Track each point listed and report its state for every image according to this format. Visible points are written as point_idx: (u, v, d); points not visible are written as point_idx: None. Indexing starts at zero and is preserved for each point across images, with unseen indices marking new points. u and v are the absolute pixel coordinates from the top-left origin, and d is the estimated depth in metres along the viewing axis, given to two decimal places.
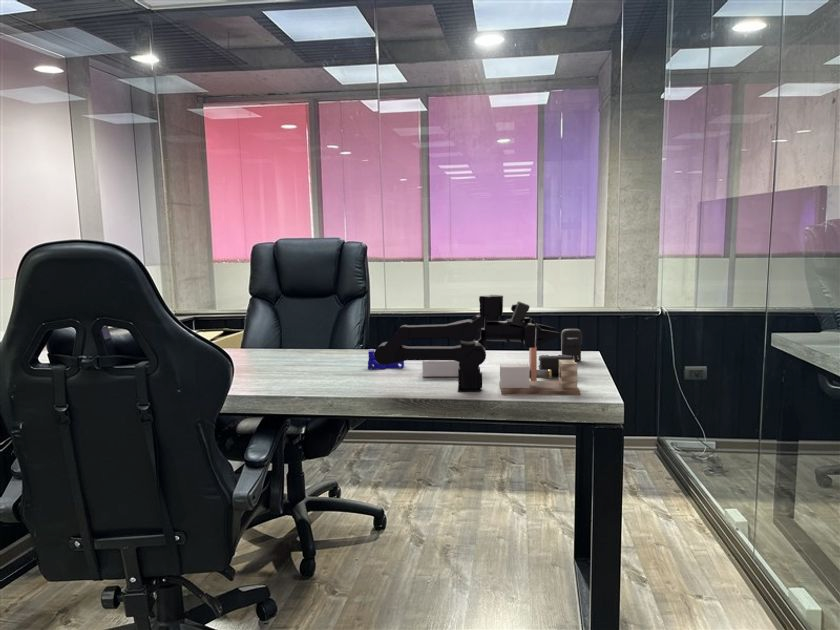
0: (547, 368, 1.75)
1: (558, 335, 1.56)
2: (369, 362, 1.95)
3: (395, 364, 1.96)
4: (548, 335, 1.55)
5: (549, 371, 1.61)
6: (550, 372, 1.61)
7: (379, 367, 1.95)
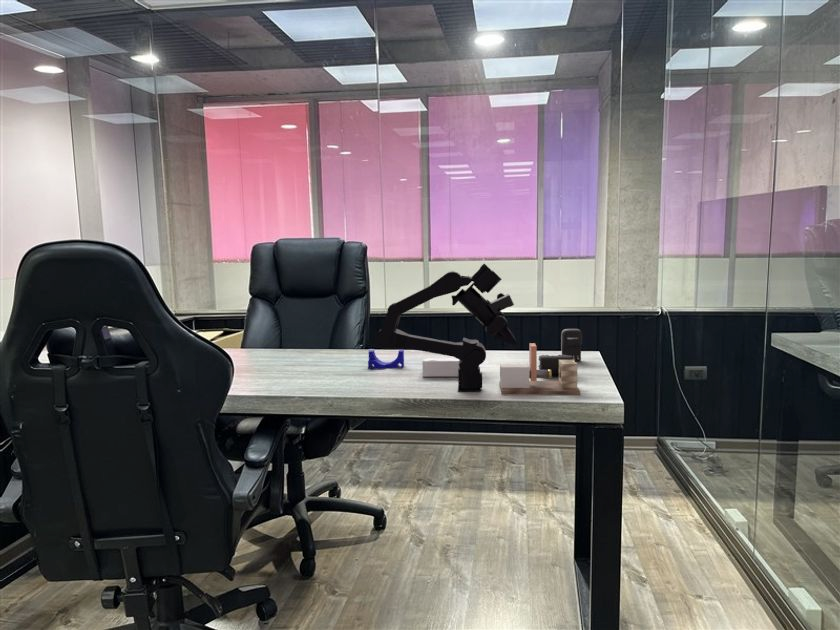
0: (547, 368, 1.75)
1: (515, 343, 1.58)
2: (369, 362, 1.96)
3: (395, 364, 1.97)
4: (508, 337, 1.58)
5: (549, 371, 1.61)
6: (550, 372, 1.61)
7: (379, 367, 1.96)
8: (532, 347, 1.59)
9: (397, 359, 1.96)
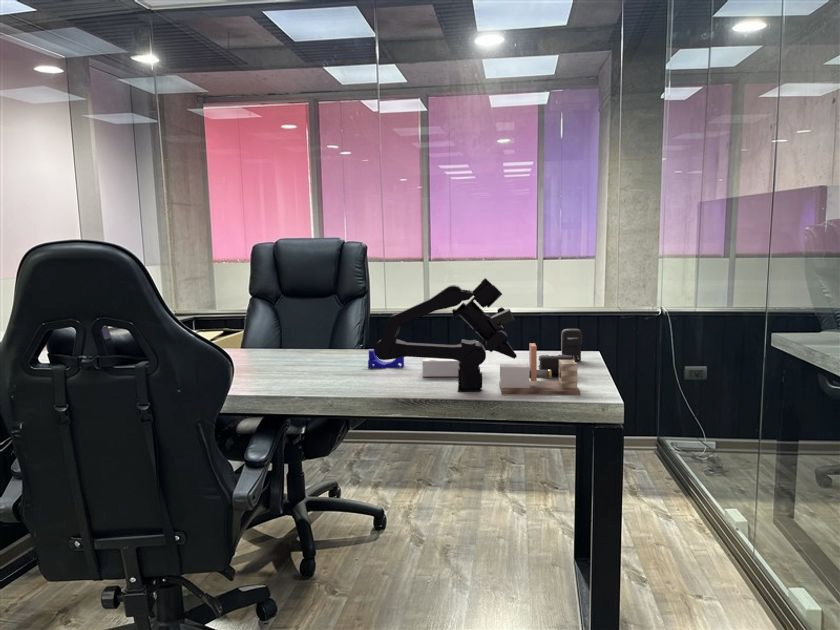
0: (547, 368, 1.75)
1: (514, 356, 1.62)
2: (369, 362, 1.96)
3: (395, 363, 1.97)
4: (507, 350, 1.61)
5: (549, 371, 1.61)
6: (550, 372, 1.61)
7: (379, 366, 1.96)
8: (532, 347, 1.59)
9: (397, 359, 1.97)
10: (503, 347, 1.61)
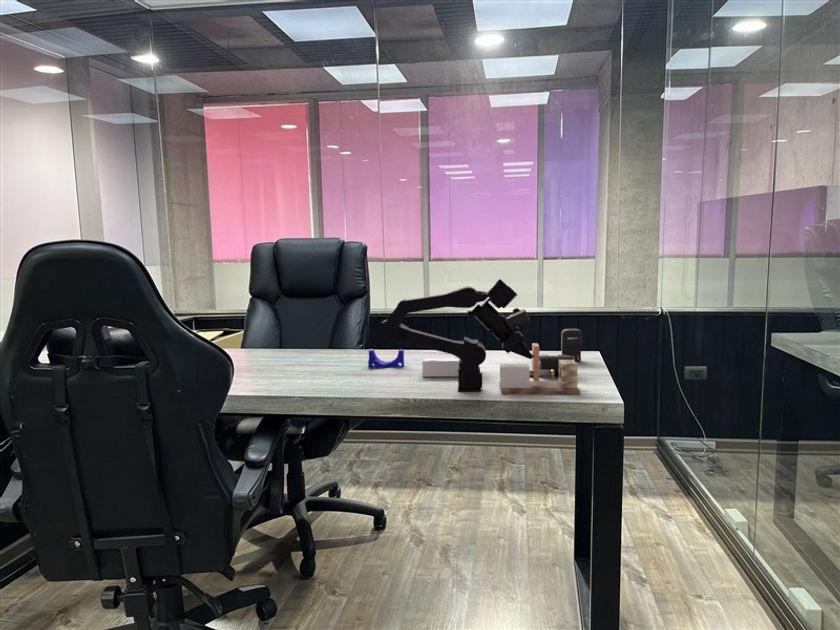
0: (547, 368, 1.75)
1: (530, 357, 1.61)
2: (369, 361, 1.97)
3: (395, 363, 1.97)
4: (523, 350, 1.61)
5: (552, 371, 1.61)
6: (553, 372, 1.61)
7: (379, 366, 1.97)
8: (535, 347, 1.59)
9: (397, 358, 1.97)
10: (519, 348, 1.61)
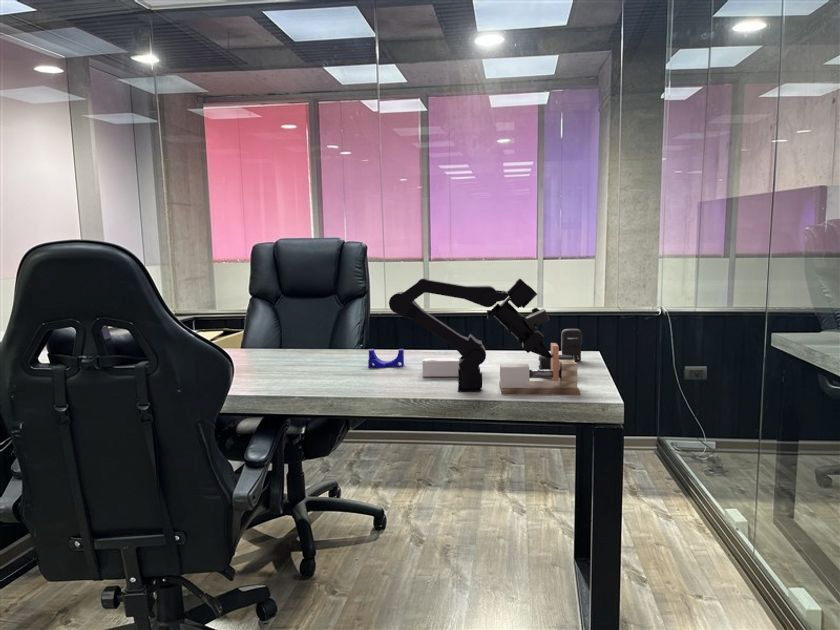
0: (547, 368, 1.75)
1: (549, 357, 1.61)
2: (369, 361, 1.97)
3: (395, 363, 1.98)
4: (543, 350, 1.60)
5: None
6: None
7: (379, 366, 1.97)
8: (554, 347, 1.59)
9: (397, 358, 1.98)
10: (539, 347, 1.60)
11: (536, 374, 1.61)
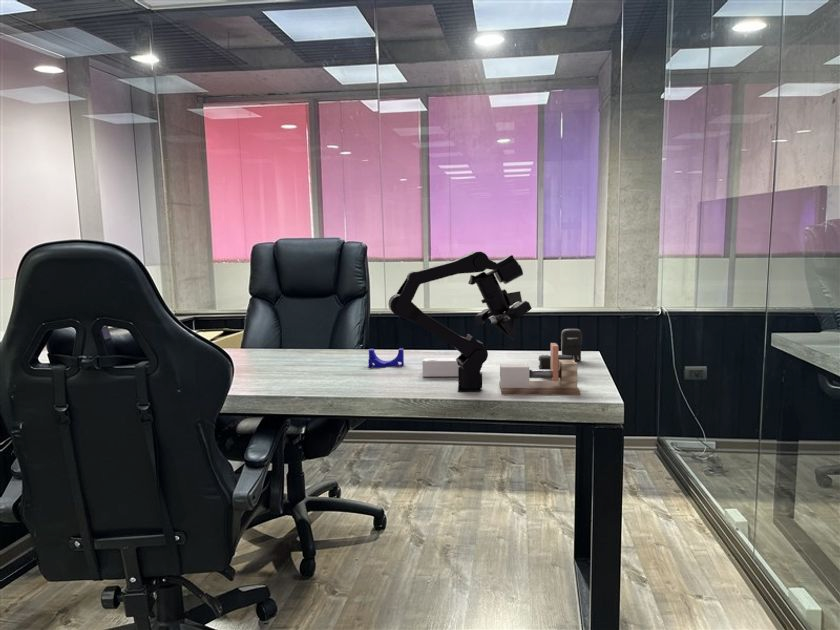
0: (547, 368, 1.75)
1: (514, 337, 1.64)
2: (370, 361, 1.98)
3: (395, 362, 1.99)
4: (512, 328, 1.63)
5: None
6: None
7: (380, 365, 1.98)
8: (554, 347, 1.59)
9: (397, 358, 1.99)
10: (509, 324, 1.63)
11: (535, 374, 1.61)
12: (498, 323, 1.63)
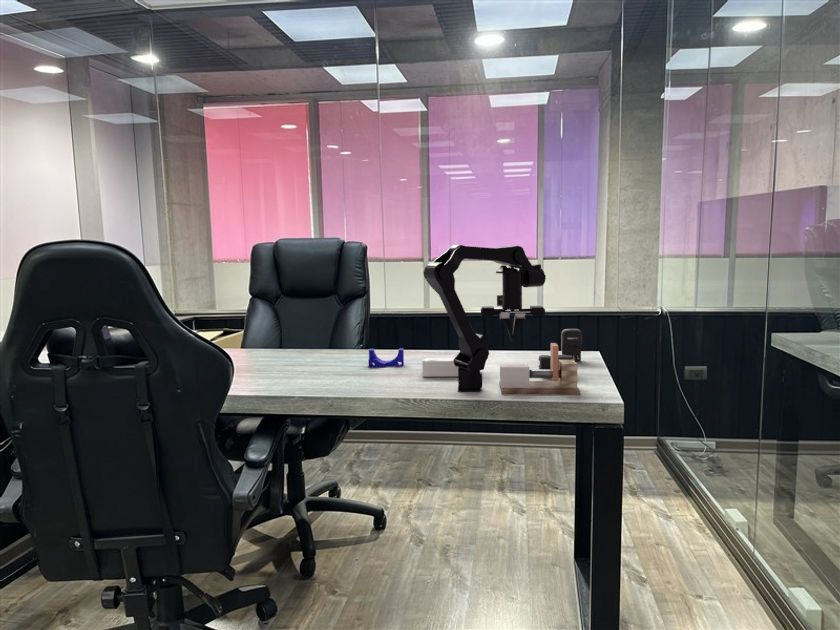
0: (547, 368, 1.75)
1: None
2: (370, 361, 1.98)
3: (395, 362, 1.99)
4: None
5: None
6: None
7: (380, 365, 1.98)
8: (554, 347, 1.59)
9: (397, 358, 1.99)
10: None
11: (535, 374, 1.61)
12: (510, 319, 1.67)
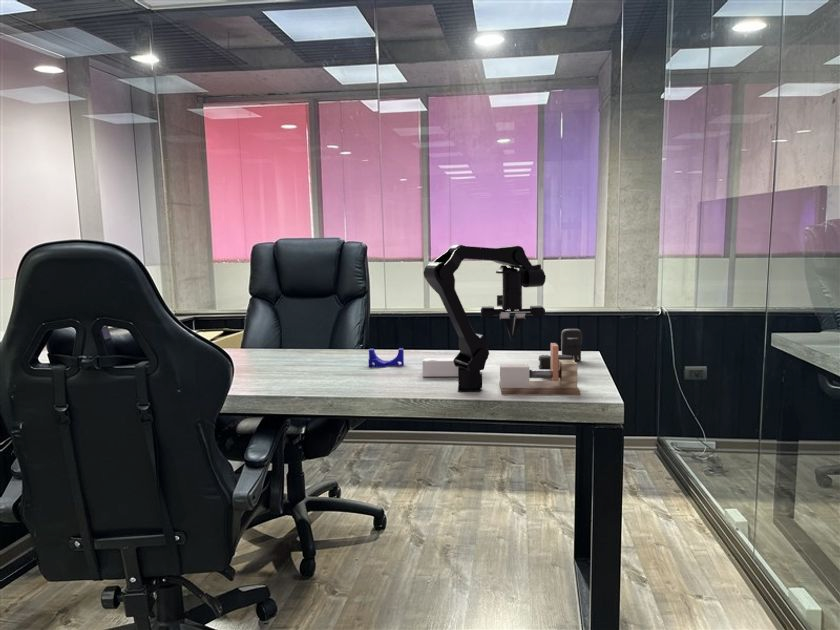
0: (547, 368, 1.75)
1: (514, 338, 1.70)
2: (370, 360, 1.98)
3: (395, 362, 1.99)
4: None
5: None
6: None
7: (380, 365, 1.98)
8: (554, 347, 1.59)
9: (397, 357, 1.99)
10: None
11: (535, 374, 1.61)
12: (510, 319, 1.67)
